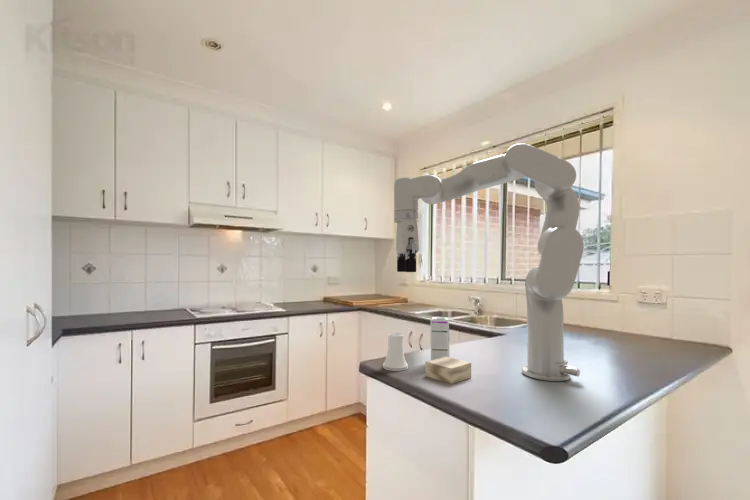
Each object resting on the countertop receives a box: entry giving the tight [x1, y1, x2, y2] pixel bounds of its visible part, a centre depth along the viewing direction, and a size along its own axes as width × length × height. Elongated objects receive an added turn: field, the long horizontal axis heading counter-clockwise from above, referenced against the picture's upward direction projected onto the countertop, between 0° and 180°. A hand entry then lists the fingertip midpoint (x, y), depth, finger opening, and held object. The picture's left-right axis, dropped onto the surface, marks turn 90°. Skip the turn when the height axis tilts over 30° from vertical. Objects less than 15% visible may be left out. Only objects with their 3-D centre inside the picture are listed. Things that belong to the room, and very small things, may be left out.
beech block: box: [424, 357, 472, 385], centre depth 102 cm, size 9×9×4 cm
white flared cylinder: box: [382, 332, 409, 372], centre depth 110 cm, size 8×8×10 cm
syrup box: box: [430, 316, 451, 360], centre depth 115 cm, size 6×6×14 cm
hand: (406, 271), depth 113 cm, fingers open, 9 cm apart
